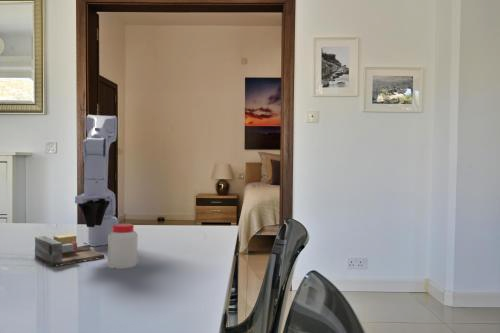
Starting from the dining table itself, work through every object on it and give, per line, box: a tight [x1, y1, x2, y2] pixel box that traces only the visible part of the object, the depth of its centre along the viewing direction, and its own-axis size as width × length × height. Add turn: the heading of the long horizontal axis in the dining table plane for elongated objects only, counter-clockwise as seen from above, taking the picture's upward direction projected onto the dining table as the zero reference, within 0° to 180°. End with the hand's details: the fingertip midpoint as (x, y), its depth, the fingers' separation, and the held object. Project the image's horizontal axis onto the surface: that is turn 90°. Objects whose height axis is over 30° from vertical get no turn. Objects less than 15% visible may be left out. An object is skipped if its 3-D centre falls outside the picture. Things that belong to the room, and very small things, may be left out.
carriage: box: [53, 233, 77, 244], centre depth 116 cm, size 5×4×4 cm
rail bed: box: [34, 235, 105, 267], centre depth 114 cm, size 14×13×6 cm
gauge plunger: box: [62, 241, 78, 252], centre depth 109 cm, size 5×2×2 cm, turn 137°
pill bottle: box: [107, 223, 139, 270], centre depth 108 cm, size 8×8×11 cm
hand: (94, 226), depth 114 cm, fingers open, 3 cm apart
